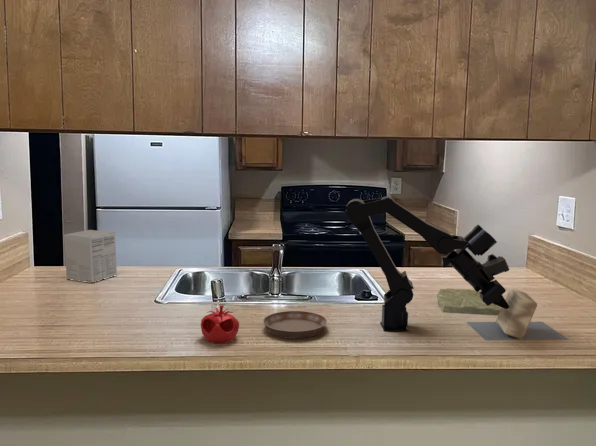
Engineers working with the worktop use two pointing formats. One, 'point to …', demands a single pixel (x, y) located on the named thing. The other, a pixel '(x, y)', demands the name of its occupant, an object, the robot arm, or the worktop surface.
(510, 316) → the maple block
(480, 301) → the decorative tile
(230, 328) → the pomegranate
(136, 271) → the worktop surface
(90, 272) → the supplement box
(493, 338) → the rubber mat
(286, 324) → the plant saucer
